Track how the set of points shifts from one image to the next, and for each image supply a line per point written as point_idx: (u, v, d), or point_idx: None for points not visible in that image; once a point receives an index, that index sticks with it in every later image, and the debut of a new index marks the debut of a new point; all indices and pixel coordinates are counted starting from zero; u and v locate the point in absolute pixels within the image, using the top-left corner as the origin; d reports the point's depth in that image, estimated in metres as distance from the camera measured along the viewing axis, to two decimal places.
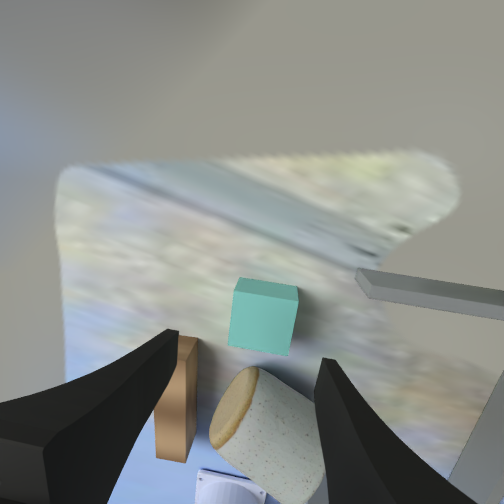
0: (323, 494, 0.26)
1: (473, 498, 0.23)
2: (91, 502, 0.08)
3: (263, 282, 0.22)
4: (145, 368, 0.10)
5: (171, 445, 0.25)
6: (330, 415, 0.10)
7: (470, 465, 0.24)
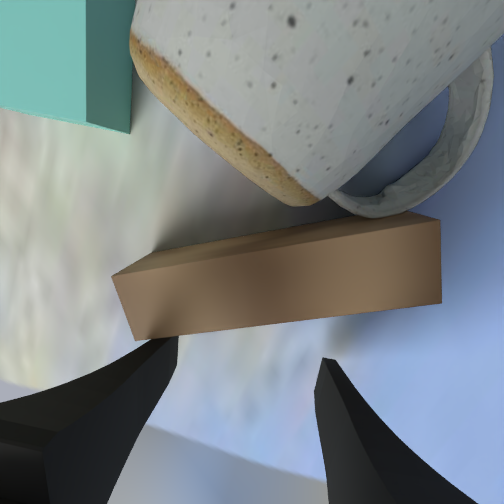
0: None
1: None
2: (91, 502, 0.08)
3: None
4: (145, 368, 0.10)
5: (378, 270, 0.09)
6: (330, 415, 0.10)
7: None
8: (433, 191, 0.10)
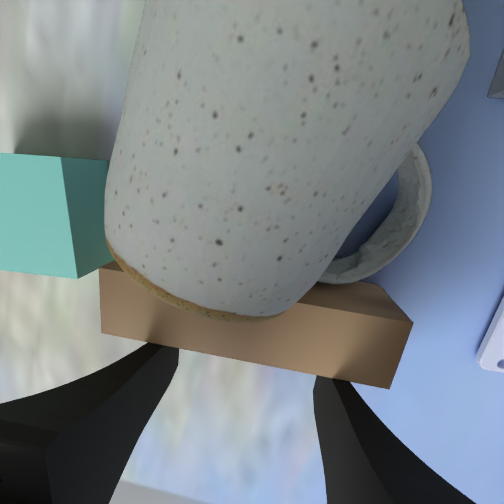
0: None
1: None
2: (93, 503, 0.08)
3: None
4: (146, 368, 0.10)
5: (347, 345, 0.10)
6: (329, 415, 0.10)
7: None
8: (404, 245, 0.11)
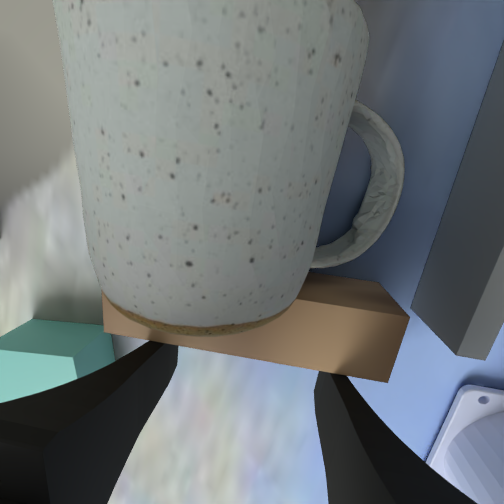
0: (450, 297, 0.10)
1: None
2: (91, 502, 0.08)
3: None
4: (145, 368, 0.10)
5: (346, 340, 0.10)
6: (330, 415, 0.10)
7: None
8: (394, 206, 0.10)
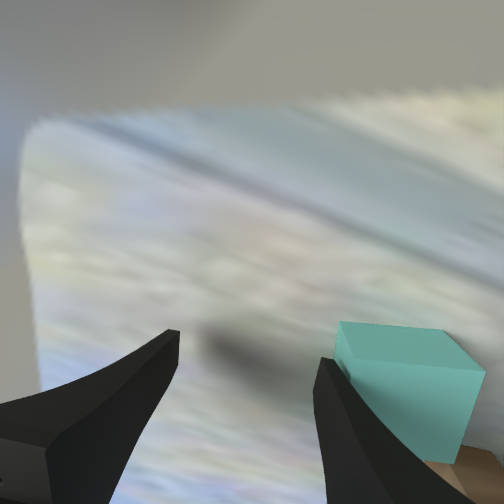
0: None
1: None
2: (93, 503, 0.08)
3: (385, 329, 0.13)
4: (146, 368, 0.10)
5: None
6: (328, 415, 0.10)
7: None
8: None
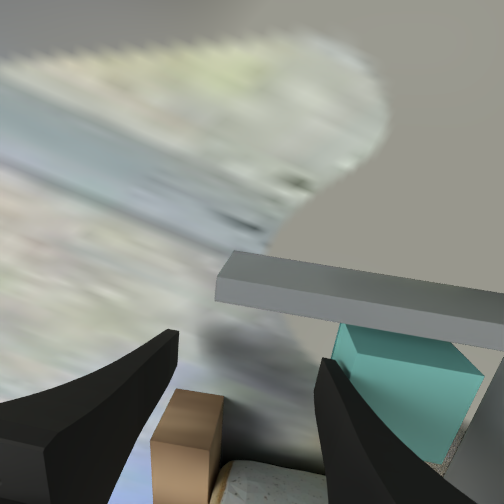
0: None
1: None
2: (91, 502, 0.08)
3: None
4: (145, 368, 0.10)
5: None
6: (330, 415, 0.10)
7: None
8: None
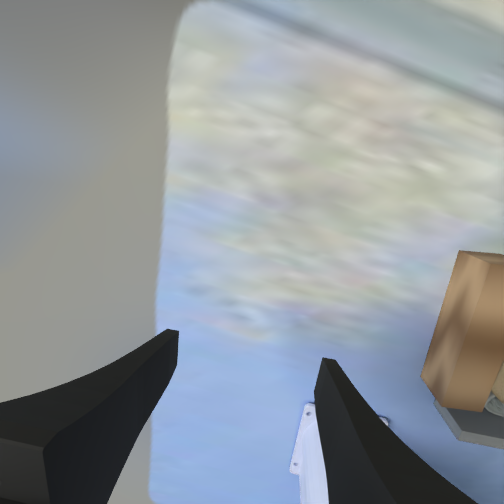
0: (472, 420, 0.22)
1: None
2: (91, 502, 0.08)
3: None
4: (145, 368, 0.10)
5: (470, 389, 0.20)
6: (330, 415, 0.10)
7: None
8: (503, 416, 0.22)
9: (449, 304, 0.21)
